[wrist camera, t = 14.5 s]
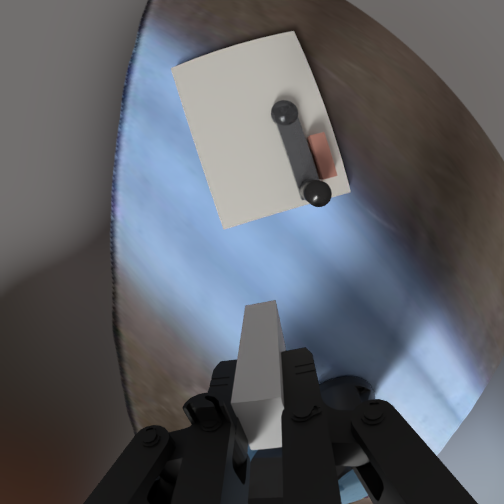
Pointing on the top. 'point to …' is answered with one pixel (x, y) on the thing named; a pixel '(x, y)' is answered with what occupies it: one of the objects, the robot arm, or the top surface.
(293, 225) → the top surface
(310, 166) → the swing bar
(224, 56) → the board
